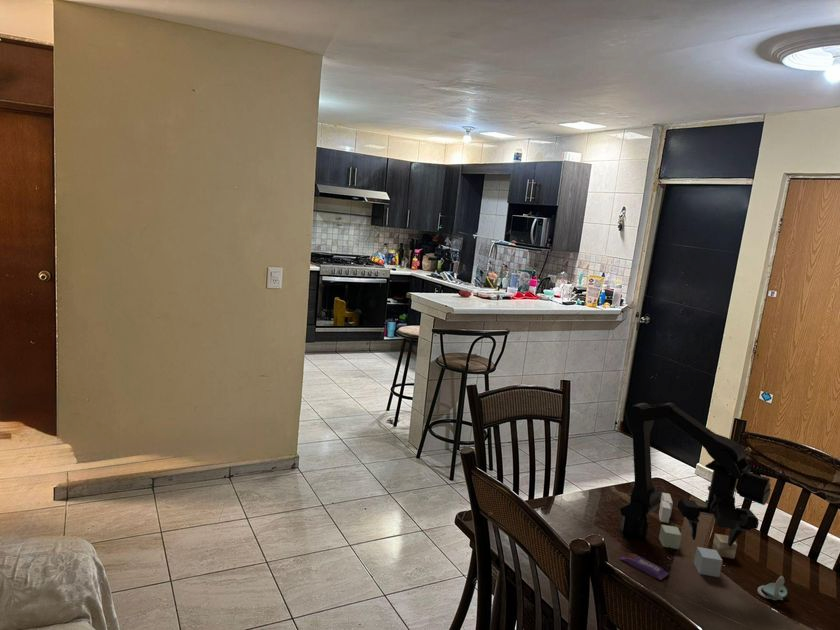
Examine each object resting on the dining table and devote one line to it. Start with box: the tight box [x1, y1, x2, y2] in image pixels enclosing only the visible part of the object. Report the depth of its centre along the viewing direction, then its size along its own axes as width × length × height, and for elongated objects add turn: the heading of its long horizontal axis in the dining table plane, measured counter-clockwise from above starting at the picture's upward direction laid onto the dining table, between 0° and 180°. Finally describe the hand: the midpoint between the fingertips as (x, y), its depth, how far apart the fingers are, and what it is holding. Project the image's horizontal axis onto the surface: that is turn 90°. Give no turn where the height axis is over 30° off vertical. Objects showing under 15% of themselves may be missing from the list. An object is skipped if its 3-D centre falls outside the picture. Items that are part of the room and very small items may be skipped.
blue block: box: [693, 546, 723, 578], centre depth 156 cm, size 5×5×5 cm
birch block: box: [711, 533, 738, 560], centre depth 165 cm, size 4×4×4 cm
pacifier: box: [757, 575, 788, 601], centre depth 147 cm, size 7×6×6 cm
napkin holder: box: [658, 492, 674, 524], centre depth 185 cm, size 15×11×6 cm
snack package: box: [619, 552, 670, 581], centre depth 154 cm, size 12×2×5 cm
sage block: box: [658, 524, 682, 550], centre depth 168 cm, size 4×4×4 cm
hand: (711, 542), depth 155 cm, fingers open, 9 cm apart
